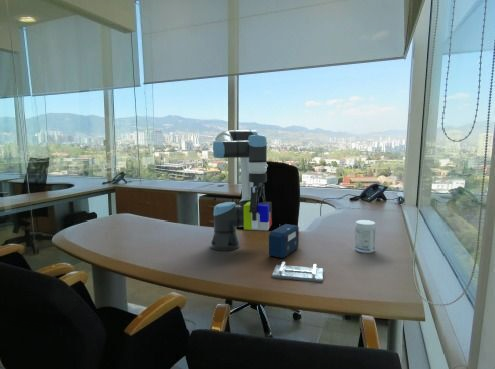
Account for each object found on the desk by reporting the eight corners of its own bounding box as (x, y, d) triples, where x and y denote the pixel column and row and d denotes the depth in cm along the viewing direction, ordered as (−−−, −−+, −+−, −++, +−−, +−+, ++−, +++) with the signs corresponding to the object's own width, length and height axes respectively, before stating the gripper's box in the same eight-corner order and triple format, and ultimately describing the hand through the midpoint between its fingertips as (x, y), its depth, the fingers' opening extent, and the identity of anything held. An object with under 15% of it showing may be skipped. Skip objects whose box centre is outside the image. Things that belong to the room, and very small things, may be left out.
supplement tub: (364, 246, 167) (365, 218, 165) (379, 251, 158) (380, 222, 156) (350, 249, 162) (351, 221, 160) (364, 254, 154) (365, 225, 152)
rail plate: (272, 277, 129) (272, 270, 129) (276, 267, 140) (276, 260, 139) (322, 282, 124) (322, 274, 124) (322, 271, 135) (323, 264, 134)
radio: (283, 260, 148) (283, 218, 146) (267, 257, 153) (267, 216, 150) (301, 247, 166) (301, 210, 163) (285, 245, 170) (285, 208, 168)
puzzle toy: (267, 230, 128) (267, 206, 127) (243, 229, 130) (243, 205, 129) (271, 224, 138) (271, 201, 137) (249, 223, 140) (249, 201, 139)
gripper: (260, 175, 120) (260, 232, 122) (272, 170, 141) (272, 219, 144) (241, 174, 122) (241, 231, 124) (255, 170, 143) (256, 218, 146)
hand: (258, 224), depth 134 cm, fingers closed on puzzle toy, 10 cm apart
